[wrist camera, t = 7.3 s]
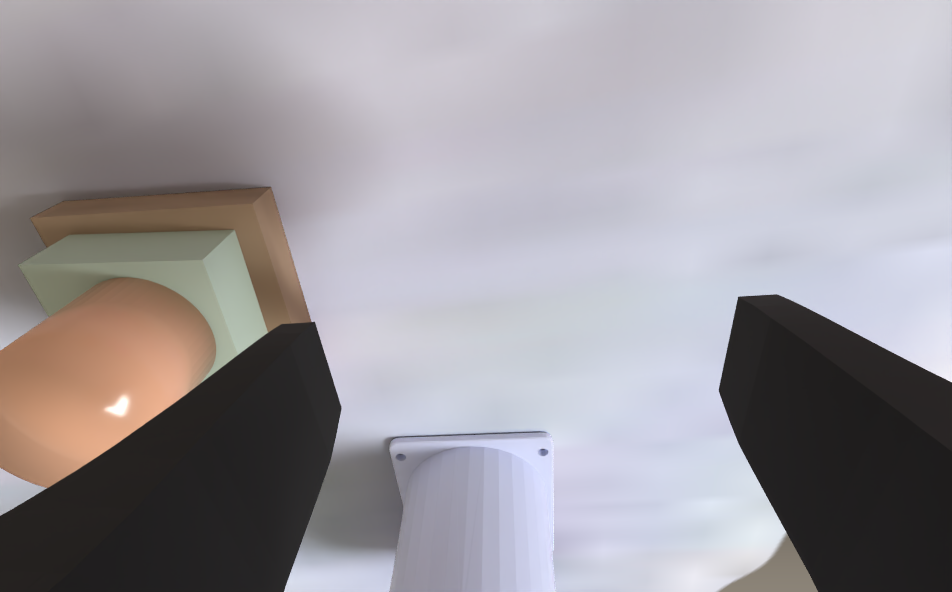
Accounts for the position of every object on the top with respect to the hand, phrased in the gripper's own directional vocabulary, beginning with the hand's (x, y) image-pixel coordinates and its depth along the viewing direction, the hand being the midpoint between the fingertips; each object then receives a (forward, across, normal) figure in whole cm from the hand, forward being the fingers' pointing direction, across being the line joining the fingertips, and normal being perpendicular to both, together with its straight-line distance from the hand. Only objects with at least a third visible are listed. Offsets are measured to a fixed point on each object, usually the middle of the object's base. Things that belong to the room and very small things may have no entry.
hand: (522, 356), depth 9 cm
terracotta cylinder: (+6, +12, +3) cm, 14 cm away
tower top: (+9, +13, +4) cm, 16 cm away
